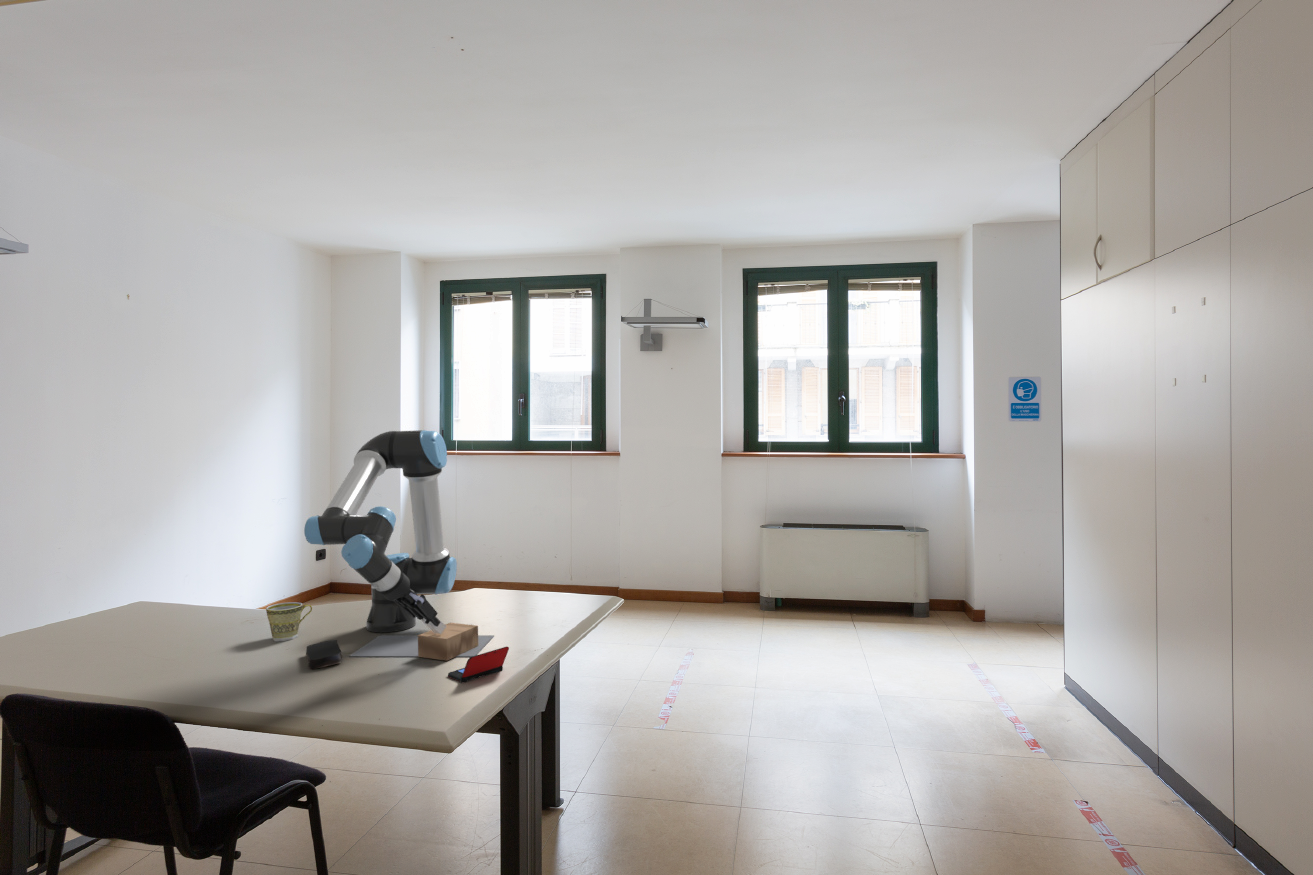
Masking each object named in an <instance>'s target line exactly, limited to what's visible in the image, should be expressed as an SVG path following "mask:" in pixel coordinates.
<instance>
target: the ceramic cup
mask: <svg viewBox="0 0 1313 875" xmlns="http://www.w3.org/2000/svg"><path fill="white" fill-rule="evenodd" d="M306 607H310V610H309V611H308V612H306V614H305V615H304V616H303V617H302V612H303V610H304V609H305V608H306ZM312 610H313V607H312V605H311V604H304V605H303V603H302V602H299V601H298V602H295V601H293V602H289V601H288V602H280V603H276V604H275V603H274V604H271V605H269V606H266V608H265V611H266V616H267V621H268V623H269V628H270V632H271V637H272V640H273V641H274V642H286V641H292V640H294V639H296V638H297V637H298V634H299V629H300V625H301V623H302V622H303V620H305V618H306V617H307V616H308V615H309V614H311V612H312ZM301 617H302V619H301Z"/></svg>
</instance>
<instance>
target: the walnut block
mask: <svg viewBox="0 0 1313 875" xmlns="http://www.w3.org/2000/svg"><path fill="white" fill-rule="evenodd" d="M444 625H445V626H446V628H445V629H444V631H443V632H442V634H441V635H440V634H438V633H437V634H435V633H434V632H433V631H432V630H431V629H429V630H428V631H426V632H424V633H421V634H418V657H417V658H424V659H433V660H440V661H449V660H451V659H453V658H457V657H456V656H458V655H460V654H462V653H465V652H467V651H469V650H471V649H473V648H475V647H477V646H478V635H479V626H478V625H474V624H468V623H467V624H465V623H458V622H448V623H445V624H444Z"/></svg>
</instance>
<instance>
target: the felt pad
mask: <svg viewBox="0 0 1313 875" xmlns="http://www.w3.org/2000/svg"><path fill="white" fill-rule="evenodd" d="M418 635H419V634H418ZM418 635H417V634H416V635H413V634H412V635H411V634H409V635H408V634H407V635H401V634H399V635H398V634H397V635H396V634H395V635H393V634H392V635H389V634H388V635H387V634H386V635H385V634H383V635H381V634H380V635H378V636H377V637H375V638H373V639H372V640H371V641H369V642H367V643H366V644H365V645H363V646H362V647H360V648H358V649H356V651H354V652H353V653H352V654H350V655H349V656H348V657H349V658H419V657H418ZM494 637H495V635H494V634H493V635H492V634H491V635H487V634H485V635H483V634H482V635H481V634H480V635H479V634H478V646H477V647H475V648H473V649H471V650H469V651H467V652H465V653H462V654H460V655H458V656H456V657H455V658H470V657H473V656H476V655H479V654H480V652H481V651H482V650H483V649H484V648H485V647H486V646H487V645H488V644H489V643H490V641H491V640H492V639H494Z"/></svg>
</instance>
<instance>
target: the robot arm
mask: <svg viewBox="0 0 1313 875" xmlns="http://www.w3.org/2000/svg"><path fill="white" fill-rule="evenodd" d="M447 457H448V451H447V445H446V442H445V439H444V437H443V436H442V435H441V434H440V433H439V431H435V430H427V429H426V430H425V429H423V430H419V429H418V430H398V431H397V430H389V431H385V432H382V433H379V434H378V435H376V436H374V437H372V438H371V439H369V440H368V441H367V442H366V443H364V444H363V445H362V446H361V447H360V448H359V450H358V451H357V452H356V454H355V455H354V458H353V465H352V467H351V468H350V469H349V471H348V473H347V475H346V476H345V478H344V480H343V481H342V483H341V484H340V486H339V488H338V490H337V491H336V493H335V494H334V496H333V497H332V499H331V501H330V502H329V504H328V506H327V507H326V508H325V510H324V511H323V513H322V515H313V516H310V517H308V519H307V520H306V522H305V524H304V527H303V528H304V530H303V531H304V532H303V533H304V536H305V540H306V542H307V543H309V544H310V545H319V546H320V545H322V546H325V545H327V546H329V545H330V546H331V545H343V546H342V548H341V552H340V553H341V557H342V559H343V560H344V561H345V562H346V563H347V564H348V566H350V568H351V569H353V570H354V571H355V572H356V573H358V574H359V575H360V577H362V578H363V579H364V580H365V581H366V582H368V584H370V585H371V588H370V589H371V606H370V609H369V611H368V612H369V613H368V616H367V619H366V624H365V625H366V628H365V629H366V630H367V631H368V632H372V633H394V632H399V631H405V630H408V629H411V628H412V627H415V626H416V624H417V619H418V620H420V621H421V622H422V623H423V624H424V625H425V626H426V627H427V628H428V629H429V630H432V631H433V632H434V633H435V634H437V633H438V634H440V635H441V634H442V632H443V631H444V629H445V628H446V626H445V624H444V622H442V621H441V619H440V618H438V617H437V615H438V614H439V613H438V612H437V610H436V609H435V608H434V607H433V606H432V605H431V603H430V602H429V601H428V599H426V598H427V597H426V595H440V594H441V595H443V594H448V593H449V592H451V590H452V589H453V587H454V584H455V580H456V577H457V576H456V575H457V568H458V566H457V564H458V563H457V558H455V557H453V556H451V557H450V551H449V549H448V548H446V547H445V546H444V544H445V543H444V535H443V522H442V514H441V513H442V512H441V502H440V491H439V480H438V478H439V476H440V475H441V474H442V473H443V468H445V466H446V465H447V462H448V459H447ZM391 469H402V476H403V477H404V478H405V479H407V480H408V483H409V484H408V485H409V494H410V502H411V513H412V521H413V534H414V542H415V543H414V544H415V551H414V552H413V553H412V554H411V557H410V554H409V552H398V553H392V554H387V555H386V554H385V553H386V551H387V550H386V549H387V548H388V545H389V542H390V539H391V537H392V534H393V532H394V530H395V525H396V521H397V517H396V515H395V513H394V511H393V510H391V509H390V508H387V507H386V506H381V505H380V506H375V507H372V508H371V509H369V511H368V512H367V514H366V515H357V514H358V511H359V510H360V508H361V506H362V505H363V503H364V502H365V500H366V497H367V496H368V494H369V493H370V491H371V489H372V488H373V486H374V484H375V482H376V480H377V479H378V477H380V476H382V475H383V474H384V473H385V471H386V470H391Z"/></svg>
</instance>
